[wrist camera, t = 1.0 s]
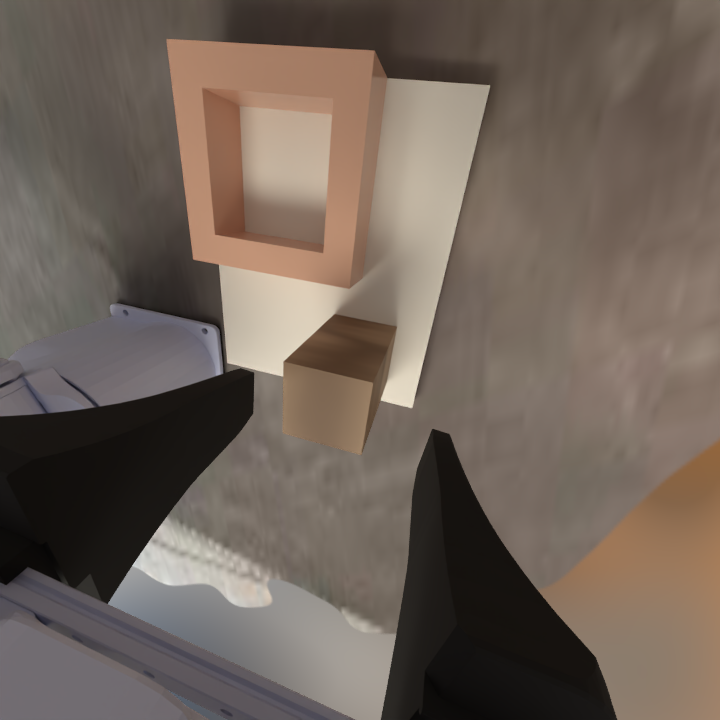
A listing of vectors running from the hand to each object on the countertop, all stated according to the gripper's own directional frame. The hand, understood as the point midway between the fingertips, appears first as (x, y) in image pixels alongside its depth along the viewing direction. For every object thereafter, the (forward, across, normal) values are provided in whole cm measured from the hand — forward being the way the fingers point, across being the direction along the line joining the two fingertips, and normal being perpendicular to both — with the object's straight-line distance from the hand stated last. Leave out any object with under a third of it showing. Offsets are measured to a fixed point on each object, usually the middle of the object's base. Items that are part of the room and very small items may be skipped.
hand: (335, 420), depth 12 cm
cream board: (+10, +4, -4) cm, 11 cm away
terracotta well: (+9, +7, -8) cm, 13 cm away
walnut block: (+9, +1, +1) cm, 9 cm away
